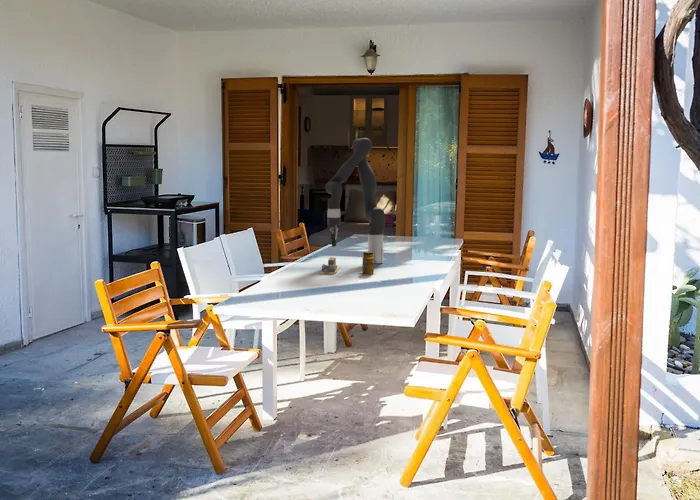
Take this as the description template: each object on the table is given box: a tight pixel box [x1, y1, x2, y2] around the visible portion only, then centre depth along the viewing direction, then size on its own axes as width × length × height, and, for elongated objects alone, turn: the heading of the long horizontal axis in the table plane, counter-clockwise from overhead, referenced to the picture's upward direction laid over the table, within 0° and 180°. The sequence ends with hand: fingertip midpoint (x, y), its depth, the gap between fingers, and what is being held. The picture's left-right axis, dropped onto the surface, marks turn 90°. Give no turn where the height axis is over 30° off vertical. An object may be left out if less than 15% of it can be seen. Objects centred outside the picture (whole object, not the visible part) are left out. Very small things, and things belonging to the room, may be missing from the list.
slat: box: [327, 257, 337, 265], centre depth 396 cm, size 10×3×5 cm, turn 174°
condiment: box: [356, 251, 375, 276], centre depth 379 cm, size 7×8×12 cm
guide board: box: [320, 263, 341, 275], centre depth 391 cm, size 8×22×4 cm, turn 174°
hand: (334, 246), depth 405 cm, fingers closed
